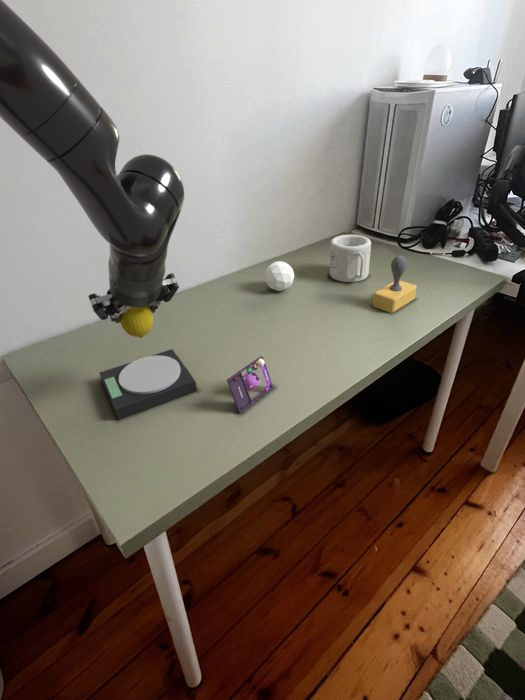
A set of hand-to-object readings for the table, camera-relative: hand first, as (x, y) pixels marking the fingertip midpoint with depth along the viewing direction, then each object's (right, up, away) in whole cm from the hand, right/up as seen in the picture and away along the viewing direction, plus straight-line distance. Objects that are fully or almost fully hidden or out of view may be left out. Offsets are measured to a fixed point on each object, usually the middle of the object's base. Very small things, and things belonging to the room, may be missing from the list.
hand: (133, 312), depth 76 cm
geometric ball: (+28, +10, +40) cm, 50 cm away
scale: (+1, -14, +7) cm, 16 cm away
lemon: (+1, -5, +1) cm, 5 cm away
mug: (+47, +14, +44) cm, 66 cm away
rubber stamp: (+55, +5, +30) cm, 63 cm away
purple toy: (+20, -15, +4) cm, 25 cm away
